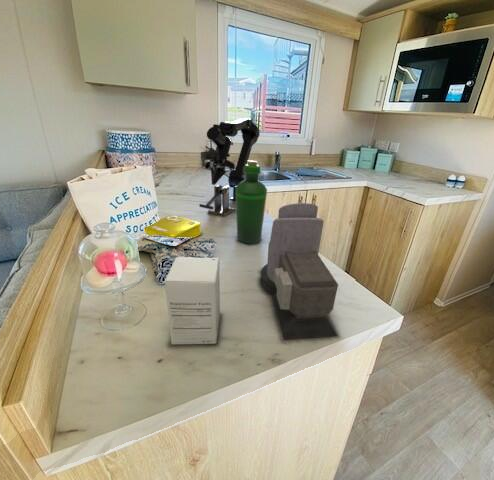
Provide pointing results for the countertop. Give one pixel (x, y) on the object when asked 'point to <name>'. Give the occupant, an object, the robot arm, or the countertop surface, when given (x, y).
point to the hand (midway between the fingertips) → (213, 184)
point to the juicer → (299, 274)
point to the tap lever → (212, 199)
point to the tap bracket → (223, 208)
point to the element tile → (174, 227)
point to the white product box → (193, 300)
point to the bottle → (250, 205)
